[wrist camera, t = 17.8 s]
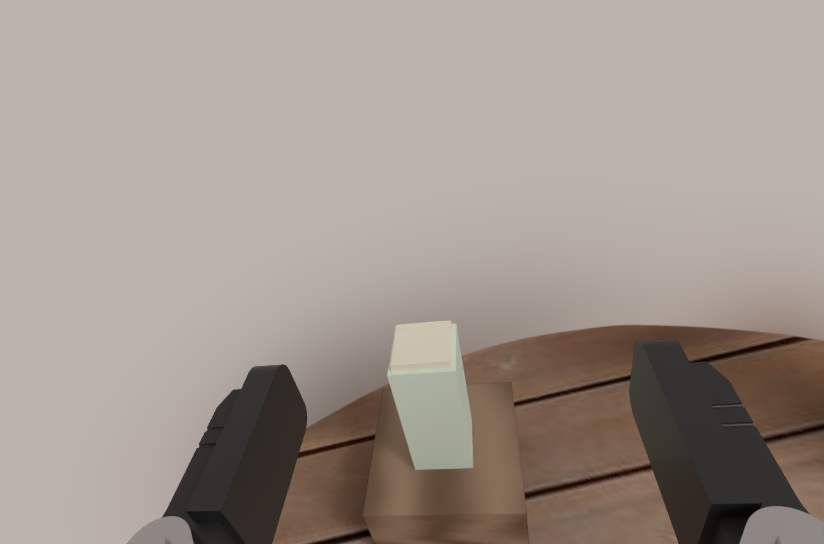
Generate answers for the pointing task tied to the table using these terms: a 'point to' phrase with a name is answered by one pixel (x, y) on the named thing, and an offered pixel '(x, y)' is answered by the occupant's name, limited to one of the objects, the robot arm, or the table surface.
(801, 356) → the table surface
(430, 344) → the sage tin
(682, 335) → the table surface
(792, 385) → the table surface
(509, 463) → the walnut block
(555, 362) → the table surface
